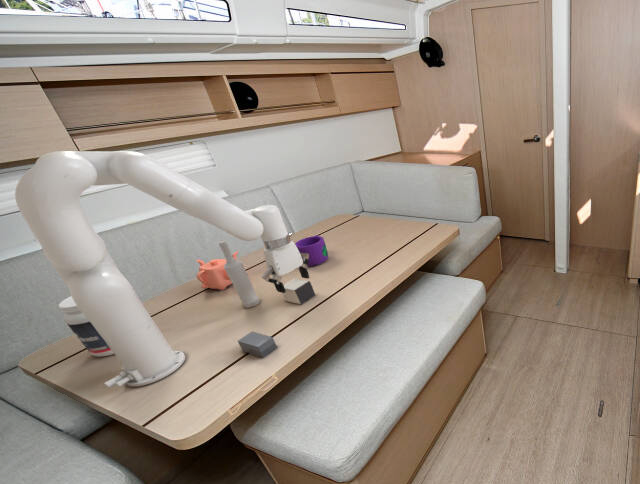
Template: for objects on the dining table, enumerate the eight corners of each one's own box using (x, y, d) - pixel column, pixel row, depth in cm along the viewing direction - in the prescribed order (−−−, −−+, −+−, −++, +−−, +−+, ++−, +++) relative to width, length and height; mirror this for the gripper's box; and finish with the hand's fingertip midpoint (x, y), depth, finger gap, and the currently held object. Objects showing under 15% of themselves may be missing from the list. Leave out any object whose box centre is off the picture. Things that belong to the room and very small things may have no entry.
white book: (297, 295, 122) (295, 290, 121) (281, 291, 125) (279, 287, 124) (311, 286, 127) (310, 281, 126) (296, 283, 130) (294, 278, 129)
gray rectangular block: (263, 357, 101) (258, 347, 99) (242, 351, 104) (237, 340, 102) (277, 347, 104) (272, 337, 102) (257, 341, 107) (251, 331, 106)
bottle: (251, 308, 124) (220, 245, 113) (239, 307, 125) (208, 245, 114) (263, 300, 128) (235, 238, 117) (252, 299, 129) (222, 238, 118)
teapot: (207, 281, 144) (195, 258, 140) (248, 271, 150) (237, 249, 145) (197, 298, 133) (183, 273, 128) (242, 287, 138) (230, 263, 133)
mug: (325, 266, 149) (318, 245, 145) (297, 269, 148) (289, 248, 144) (337, 248, 165) (330, 228, 160) (311, 251, 164) (304, 232, 159)
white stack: (301, 304, 124) (297, 295, 122) (285, 300, 127) (281, 291, 125) (315, 295, 129) (312, 285, 127) (299, 291, 132) (296, 282, 130)
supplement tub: (81, 357, 106) (40, 308, 98) (128, 329, 118) (96, 283, 110) (113, 360, 104) (75, 310, 96) (159, 331, 115) (128, 284, 107)
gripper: (292, 230, 126) (307, 271, 134) (244, 251, 112) (264, 296, 119) (307, 232, 124) (321, 274, 131) (260, 254, 109) (279, 299, 117)
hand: (294, 284), depth 125 cm, fingers open, 9 cm apart
